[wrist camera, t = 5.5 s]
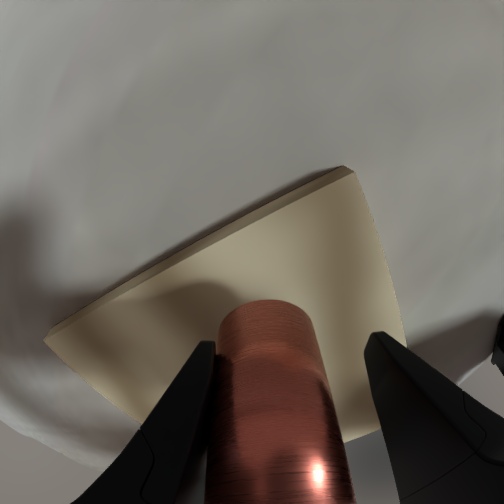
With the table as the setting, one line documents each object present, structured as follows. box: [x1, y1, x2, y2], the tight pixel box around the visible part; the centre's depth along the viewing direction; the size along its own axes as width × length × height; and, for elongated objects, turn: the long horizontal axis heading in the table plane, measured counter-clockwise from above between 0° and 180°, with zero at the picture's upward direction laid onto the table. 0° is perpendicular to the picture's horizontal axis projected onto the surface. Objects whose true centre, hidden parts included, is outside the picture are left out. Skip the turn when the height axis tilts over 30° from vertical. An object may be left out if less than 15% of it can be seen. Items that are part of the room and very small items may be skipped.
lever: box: [204, 299, 356, 504], centre depth 11 cm, size 4×19×8 cm, turn 7°
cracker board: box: [43, 165, 407, 443], centre depth 14 cm, size 20×20×4 cm
